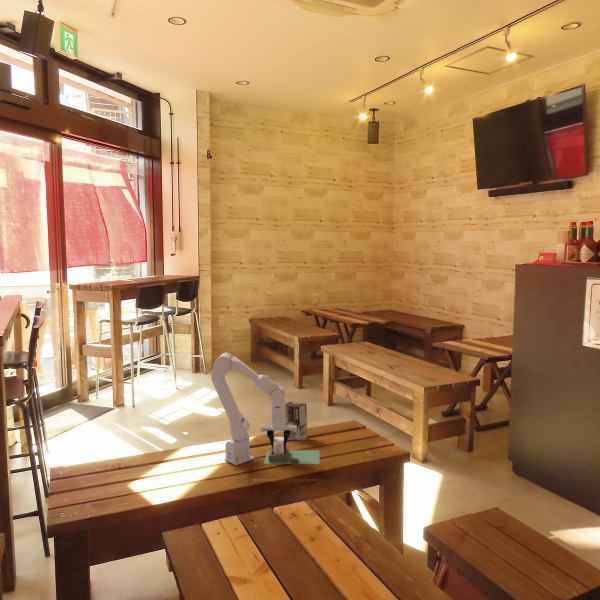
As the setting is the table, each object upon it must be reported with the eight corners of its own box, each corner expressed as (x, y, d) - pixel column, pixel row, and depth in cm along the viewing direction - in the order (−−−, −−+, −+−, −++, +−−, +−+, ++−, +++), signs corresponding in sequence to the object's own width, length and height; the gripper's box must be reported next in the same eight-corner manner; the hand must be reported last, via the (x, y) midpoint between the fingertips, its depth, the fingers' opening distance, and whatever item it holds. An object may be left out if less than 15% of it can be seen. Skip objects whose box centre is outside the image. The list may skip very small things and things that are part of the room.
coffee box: (307, 438, 226) (307, 403, 225) (300, 442, 221) (299, 407, 220) (291, 434, 231) (290, 401, 230) (283, 439, 226) (282, 404, 225)
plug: (274, 448, 206) (274, 437, 205) (284, 448, 206) (284, 436, 205) (273, 455, 199) (273, 443, 198) (283, 455, 199) (283, 443, 198)
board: (263, 466, 196) (263, 457, 195) (267, 452, 210) (267, 444, 209) (319, 466, 195) (319, 457, 195) (319, 452, 209) (319, 444, 209)
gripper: (259, 418, 197) (260, 452, 198) (295, 418, 197) (296, 452, 198) (261, 413, 205) (262, 445, 205) (296, 413, 204) (297, 445, 205)
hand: (279, 448), depth 202 cm, fingers closed on plug, 4 cm apart
